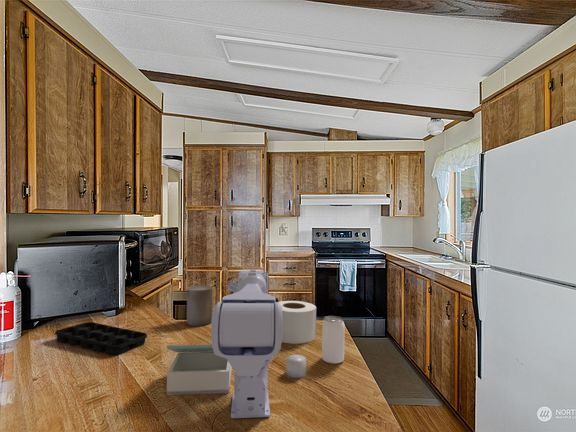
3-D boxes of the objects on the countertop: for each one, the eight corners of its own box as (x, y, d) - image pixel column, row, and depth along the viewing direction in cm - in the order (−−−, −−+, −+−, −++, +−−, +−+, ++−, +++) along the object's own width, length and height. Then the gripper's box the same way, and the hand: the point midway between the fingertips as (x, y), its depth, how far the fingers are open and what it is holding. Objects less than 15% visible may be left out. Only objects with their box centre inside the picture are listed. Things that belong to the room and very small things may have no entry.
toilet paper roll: (321, 333, 121) (322, 303, 121) (304, 347, 107) (305, 313, 107) (283, 326, 128) (284, 298, 128) (263, 338, 114) (263, 307, 114)
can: (326, 365, 93) (327, 322, 94) (318, 356, 100) (319, 316, 100) (347, 363, 95) (348, 321, 95) (338, 354, 101) (339, 314, 102)
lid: (231, 347, 78) (231, 344, 79) (166, 348, 77) (167, 345, 77) (233, 351, 89) (233, 348, 90) (176, 352, 88) (177, 349, 88)
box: (228, 393, 77) (229, 371, 77) (166, 395, 76) (167, 373, 76) (231, 370, 89) (232, 351, 89) (177, 371, 88) (178, 352, 88)
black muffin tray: (82, 331, 119) (82, 320, 119) (158, 338, 113) (158, 327, 113) (36, 349, 102) (36, 337, 102) (123, 359, 96) (123, 346, 96)
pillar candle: (215, 319, 135) (215, 282, 135) (206, 326, 125) (207, 286, 125) (192, 318, 136) (192, 281, 136) (182, 325, 126) (182, 286, 126)
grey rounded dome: (307, 378, 86) (307, 362, 86) (287, 378, 85) (287, 362, 85) (304, 369, 91) (304, 354, 91) (285, 369, 90) (285, 354, 91)
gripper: (287, 291, 82) (284, 302, 94) (235, 265, 84) (238, 279, 96) (274, 318, 79) (272, 325, 91) (221, 290, 81) (226, 301, 93)
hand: (254, 303), depth 93 cm, fingers open, 7 cm apart
